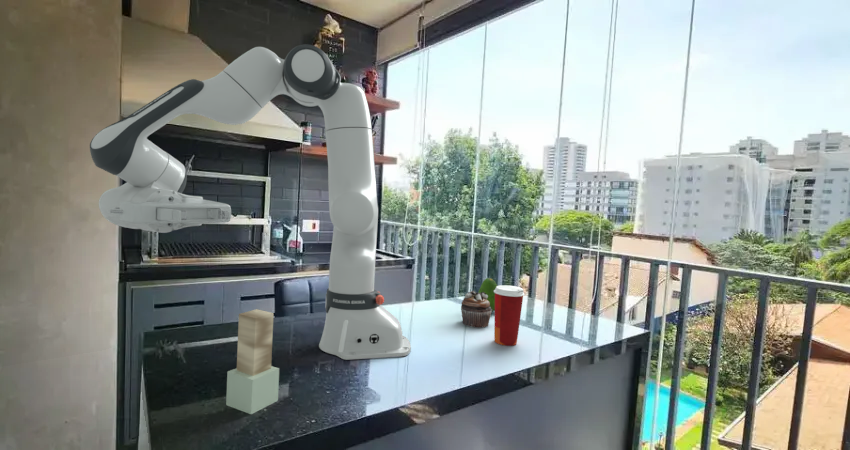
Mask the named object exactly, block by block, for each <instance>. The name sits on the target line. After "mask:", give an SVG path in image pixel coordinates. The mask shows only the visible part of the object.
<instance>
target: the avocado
mask: <svg viewBox="0 0 850 450" xmlns="http://www.w3.org/2000/svg"><path fill="white" fill-rule="evenodd" d="M496 286H498V284H497V282H496V281H495V280H494V279H493V278H491V277H487V278H485V279H484V280H483V281H482V282H481V285H480V287H479V289H478V292H477V293H481V292H485V293H486V295H488V298H487V300H488V301H489V302H490V305H489V306H490V307H491V309H492V312H495V293H494V290H495V288H496Z"/></svg>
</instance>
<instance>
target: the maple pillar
mask: <svg viewBox="0 0 850 450" xmlns="http://www.w3.org/2000/svg"><path fill="white" fill-rule="evenodd" d="M237 323H238V327H237V328H238V329H237V353H236V355H237V356H236V368H237V371H240V372H243V373H246V374H249V375H252V376H254V375H257V374H259V373H261V372H264V371H266V370H268V369H271V366H272V358H273V357H272V355H273V354H272V353H273V352H272V351H273V331H274V313H273V312H271V311H266V310H262V309H257V308H256V309H253V310H248V311H245V312H241V313H238V322H237Z"/></svg>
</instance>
